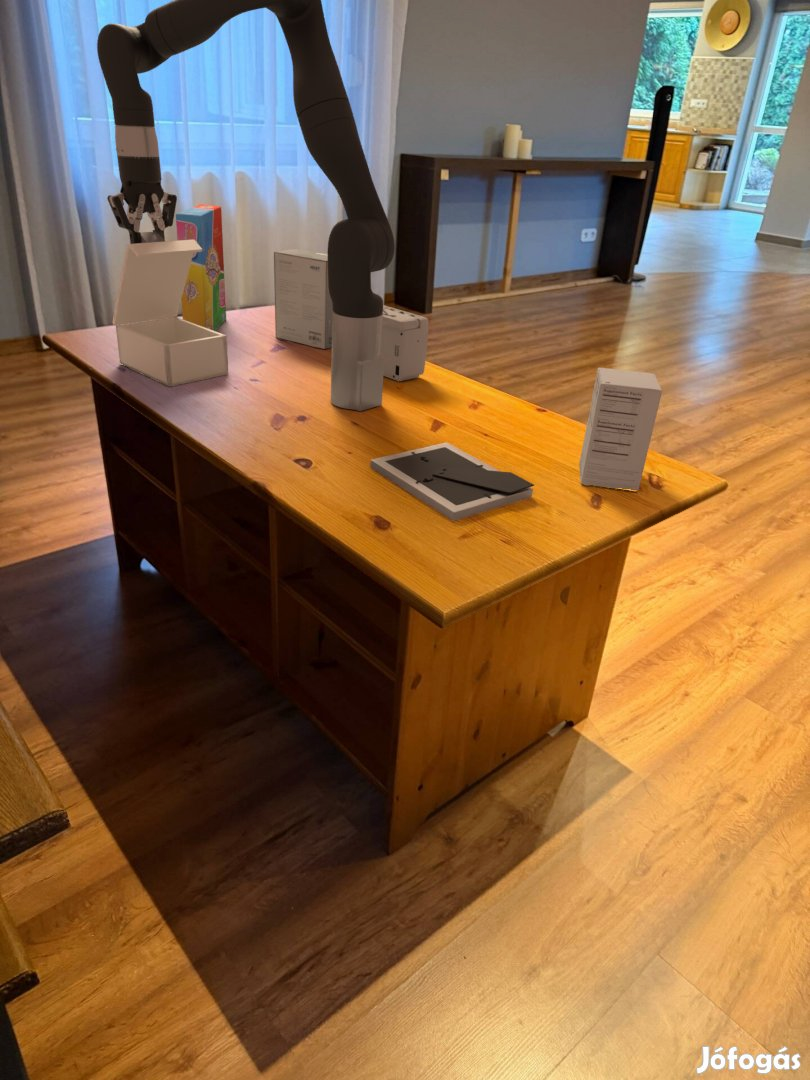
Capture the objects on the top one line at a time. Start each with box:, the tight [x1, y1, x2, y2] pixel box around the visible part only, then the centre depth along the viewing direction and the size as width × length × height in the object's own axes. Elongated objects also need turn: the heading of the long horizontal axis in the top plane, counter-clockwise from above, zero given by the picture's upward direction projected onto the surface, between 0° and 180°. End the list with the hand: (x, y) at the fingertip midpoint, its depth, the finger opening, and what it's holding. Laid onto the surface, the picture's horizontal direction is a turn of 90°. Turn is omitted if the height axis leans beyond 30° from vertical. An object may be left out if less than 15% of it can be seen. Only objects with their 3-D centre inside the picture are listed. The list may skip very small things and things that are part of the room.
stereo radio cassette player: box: [381, 304, 429, 383], centre depth 163 cm, size 21×8×20 cm, turn 46°
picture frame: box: [369, 441, 535, 522], centre depth 119 cm, size 16×3×21 cm
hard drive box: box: [273, 248, 333, 350], centre depth 179 cm, size 16×8×20 cm, turn 58°
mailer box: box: [115, 316, 229, 387], centre depth 156 cm, size 18×14×8 cm
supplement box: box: [578, 367, 663, 491], centre depth 121 cm, size 10×9×17 cm
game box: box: [175, 204, 227, 331], centre depth 180 cm, size 21×6×27 cm, turn 179°
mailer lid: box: [112, 231, 202, 327], centre depth 153 cm, size 19×15×8 cm
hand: (148, 250), depth 150 cm, fingers closed on mailer lid, 4 cm apart
